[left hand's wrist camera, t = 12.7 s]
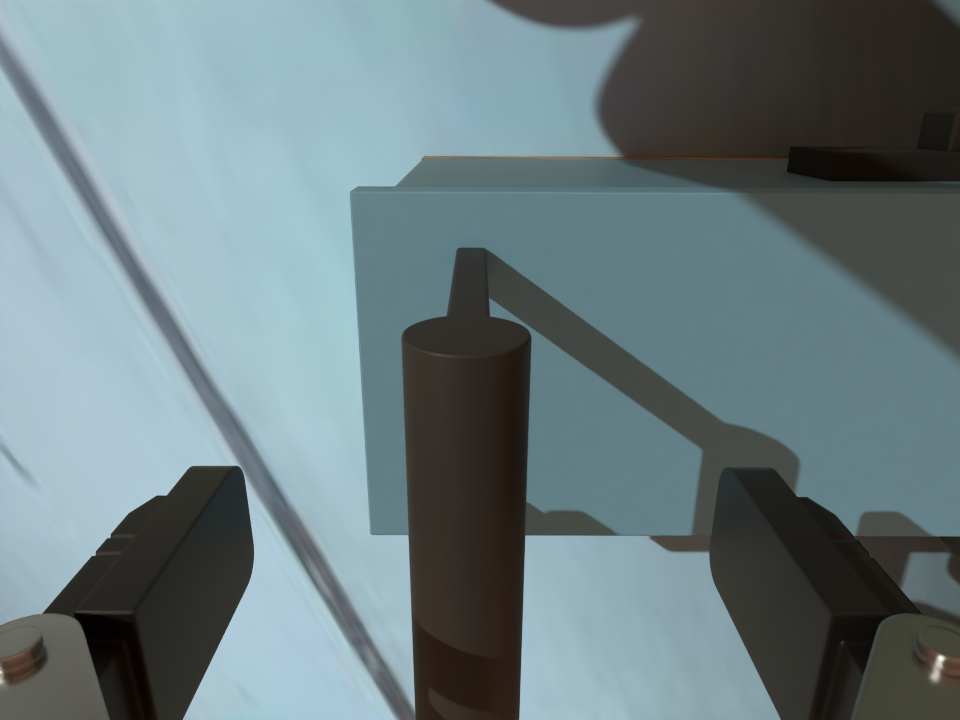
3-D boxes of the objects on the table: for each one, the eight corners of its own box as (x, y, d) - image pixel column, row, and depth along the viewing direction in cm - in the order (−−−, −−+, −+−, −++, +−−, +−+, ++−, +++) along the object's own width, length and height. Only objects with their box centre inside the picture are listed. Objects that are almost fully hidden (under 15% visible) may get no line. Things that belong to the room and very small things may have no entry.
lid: (375, 515, 20) (301, 809, 11) (356, 186, 16) (234, 267, 8) (940, 516, 20) (1270, 810, 11) (1032, 189, 16) (1582, 272, 8)
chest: (429, 381, 29) (405, 514, 20) (424, 155, 26) (392, 185, 16) (789, 382, 29) (939, 515, 20) (828, 158, 26) (1031, 188, 17)
